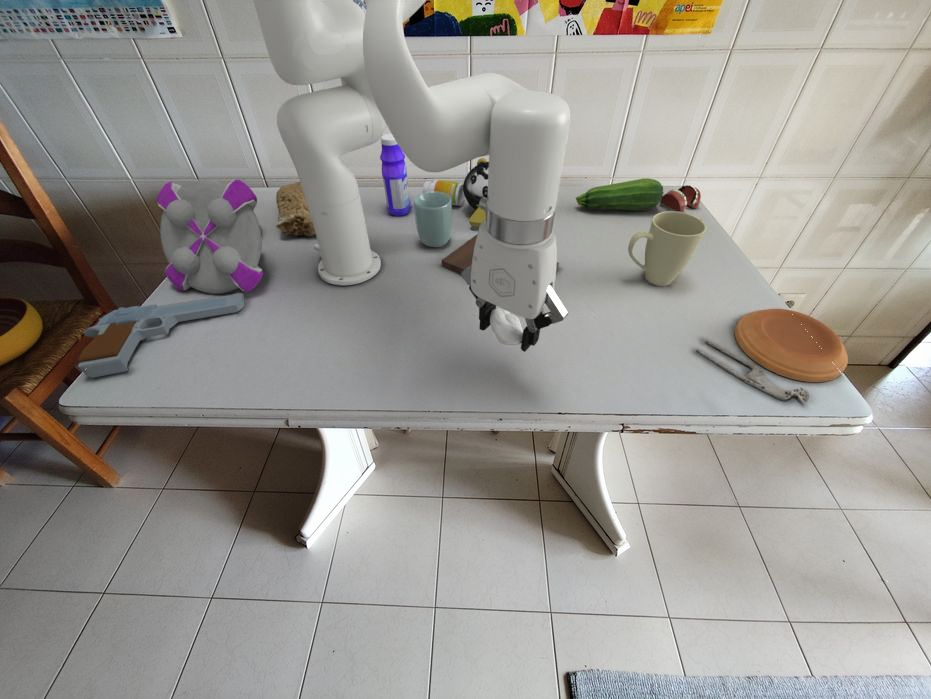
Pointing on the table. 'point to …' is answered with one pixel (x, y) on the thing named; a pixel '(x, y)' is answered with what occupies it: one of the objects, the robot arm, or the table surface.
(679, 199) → the dentures
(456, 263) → the bread board
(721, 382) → the table surface
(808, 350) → the saucer
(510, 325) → the dumpling
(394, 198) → the bottle
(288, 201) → the sponge
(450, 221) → the cup
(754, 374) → the nutcracker
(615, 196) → the vegetable
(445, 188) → the supplement bottle
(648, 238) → the mug
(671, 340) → the table surface
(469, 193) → the alarm clock
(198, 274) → the toy
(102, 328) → the handgun
